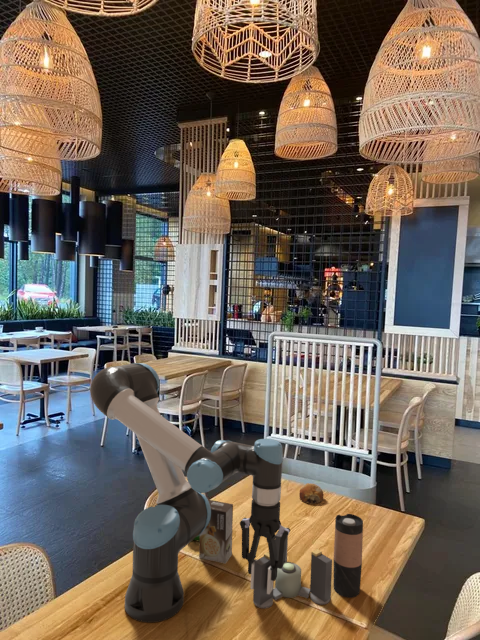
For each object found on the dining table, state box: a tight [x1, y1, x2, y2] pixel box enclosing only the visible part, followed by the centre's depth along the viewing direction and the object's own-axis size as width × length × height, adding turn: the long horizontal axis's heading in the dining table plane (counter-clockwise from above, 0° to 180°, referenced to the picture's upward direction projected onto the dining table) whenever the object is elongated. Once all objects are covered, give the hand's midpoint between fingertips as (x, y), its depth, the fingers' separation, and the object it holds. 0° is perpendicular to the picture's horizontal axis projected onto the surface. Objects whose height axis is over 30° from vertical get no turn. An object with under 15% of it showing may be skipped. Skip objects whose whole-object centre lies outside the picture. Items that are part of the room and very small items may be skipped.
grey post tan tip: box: [309, 548, 333, 606], centre depth 119 cm, size 5×5×12 cm
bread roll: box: [299, 482, 324, 505], centre depth 183 cm, size 10×10×8 cm
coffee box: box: [198, 499, 234, 565], centre depth 138 cm, size 9×6×16 cm
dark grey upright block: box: [252, 551, 275, 609], centre depth 117 cm, size 5×5×12 cm
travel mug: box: [333, 513, 364, 599], centre depth 123 cm, size 8×8×20 cm
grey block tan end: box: [275, 525, 289, 562], centre depth 131 cm, size 5×5×12 cm
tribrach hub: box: [273, 561, 311, 601], centre depth 123 cm, size 12×11×7 cm
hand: (261, 588), depth 116 cm, fingers closed on dark grey upright block, 4 cm apart
